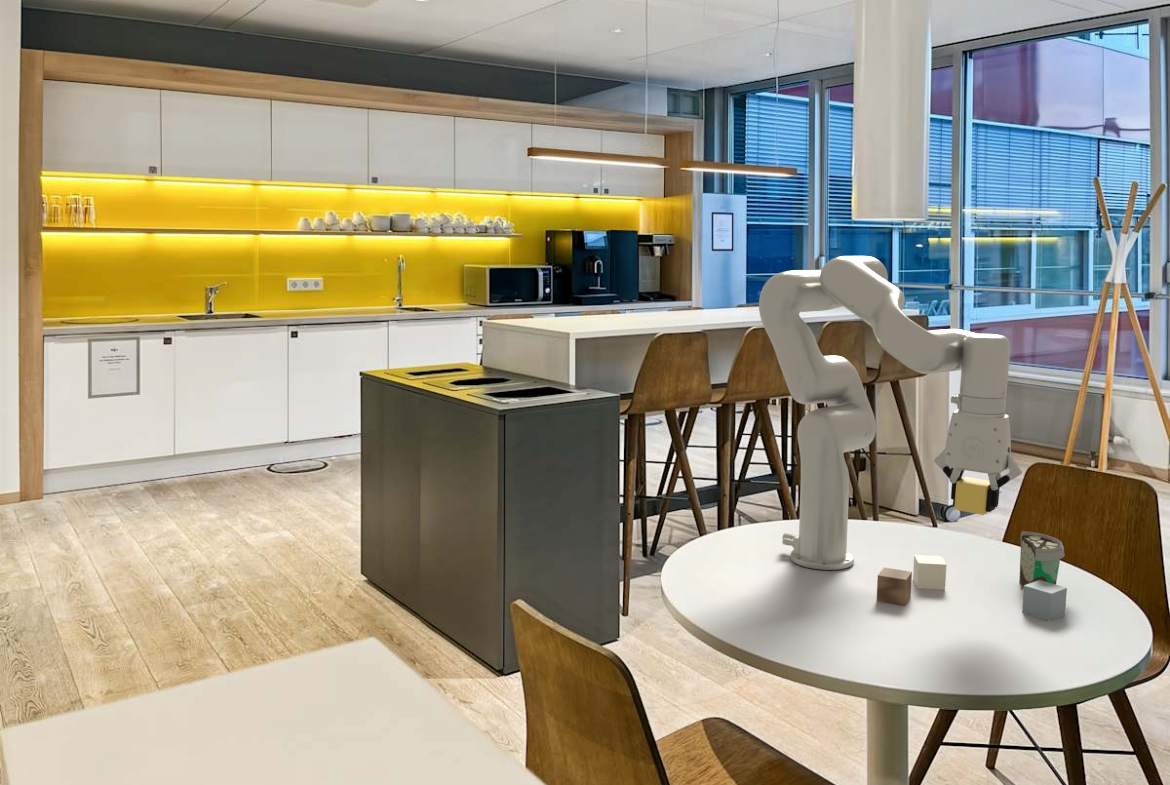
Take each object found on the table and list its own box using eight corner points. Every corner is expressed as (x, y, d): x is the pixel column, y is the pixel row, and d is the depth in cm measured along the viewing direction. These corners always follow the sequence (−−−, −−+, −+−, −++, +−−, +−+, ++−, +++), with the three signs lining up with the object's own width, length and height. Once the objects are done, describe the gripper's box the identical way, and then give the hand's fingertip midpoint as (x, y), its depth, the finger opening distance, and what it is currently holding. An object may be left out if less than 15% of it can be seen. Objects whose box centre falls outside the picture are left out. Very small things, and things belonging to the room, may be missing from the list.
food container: (1069, 605, 176) (1073, 551, 174) (1032, 603, 177) (1036, 549, 176) (1051, 583, 188) (1055, 532, 186) (1017, 580, 189) (1020, 530, 188)
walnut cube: (876, 601, 178) (877, 575, 177) (882, 593, 182) (884, 567, 182) (904, 606, 176) (906, 579, 175) (910, 598, 180) (911, 571, 179)
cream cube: (917, 588, 185) (918, 563, 184) (912, 579, 190) (914, 554, 189) (945, 590, 184) (946, 564, 183) (939, 581, 189) (941, 556, 188)
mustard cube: (954, 509, 173) (956, 481, 172) (964, 503, 176) (966, 476, 176) (983, 515, 170) (985, 486, 169) (992, 509, 173) (995, 481, 173)
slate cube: (1022, 612, 173) (1023, 585, 172) (1037, 606, 176) (1039, 579, 175) (1049, 621, 169) (1051, 593, 168) (1064, 615, 172) (1066, 587, 171)
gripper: (925, 402, 172) (918, 502, 175) (1027, 414, 162) (1018, 521, 165) (940, 397, 178) (933, 494, 181) (1040, 408, 168) (1031, 512, 170)
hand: (973, 506), depth 173 cm, fingers closed on mustard cube, 5 cm apart
